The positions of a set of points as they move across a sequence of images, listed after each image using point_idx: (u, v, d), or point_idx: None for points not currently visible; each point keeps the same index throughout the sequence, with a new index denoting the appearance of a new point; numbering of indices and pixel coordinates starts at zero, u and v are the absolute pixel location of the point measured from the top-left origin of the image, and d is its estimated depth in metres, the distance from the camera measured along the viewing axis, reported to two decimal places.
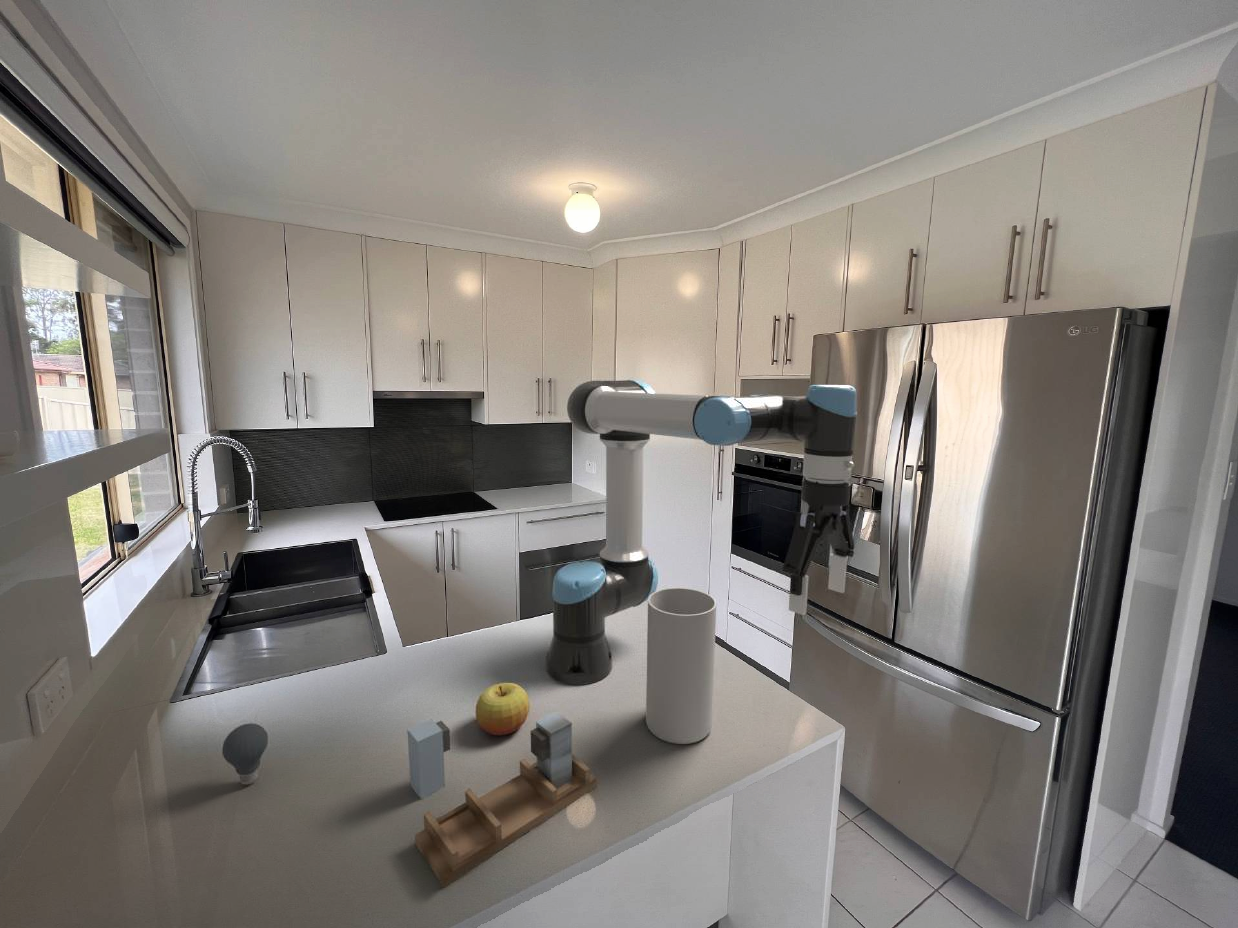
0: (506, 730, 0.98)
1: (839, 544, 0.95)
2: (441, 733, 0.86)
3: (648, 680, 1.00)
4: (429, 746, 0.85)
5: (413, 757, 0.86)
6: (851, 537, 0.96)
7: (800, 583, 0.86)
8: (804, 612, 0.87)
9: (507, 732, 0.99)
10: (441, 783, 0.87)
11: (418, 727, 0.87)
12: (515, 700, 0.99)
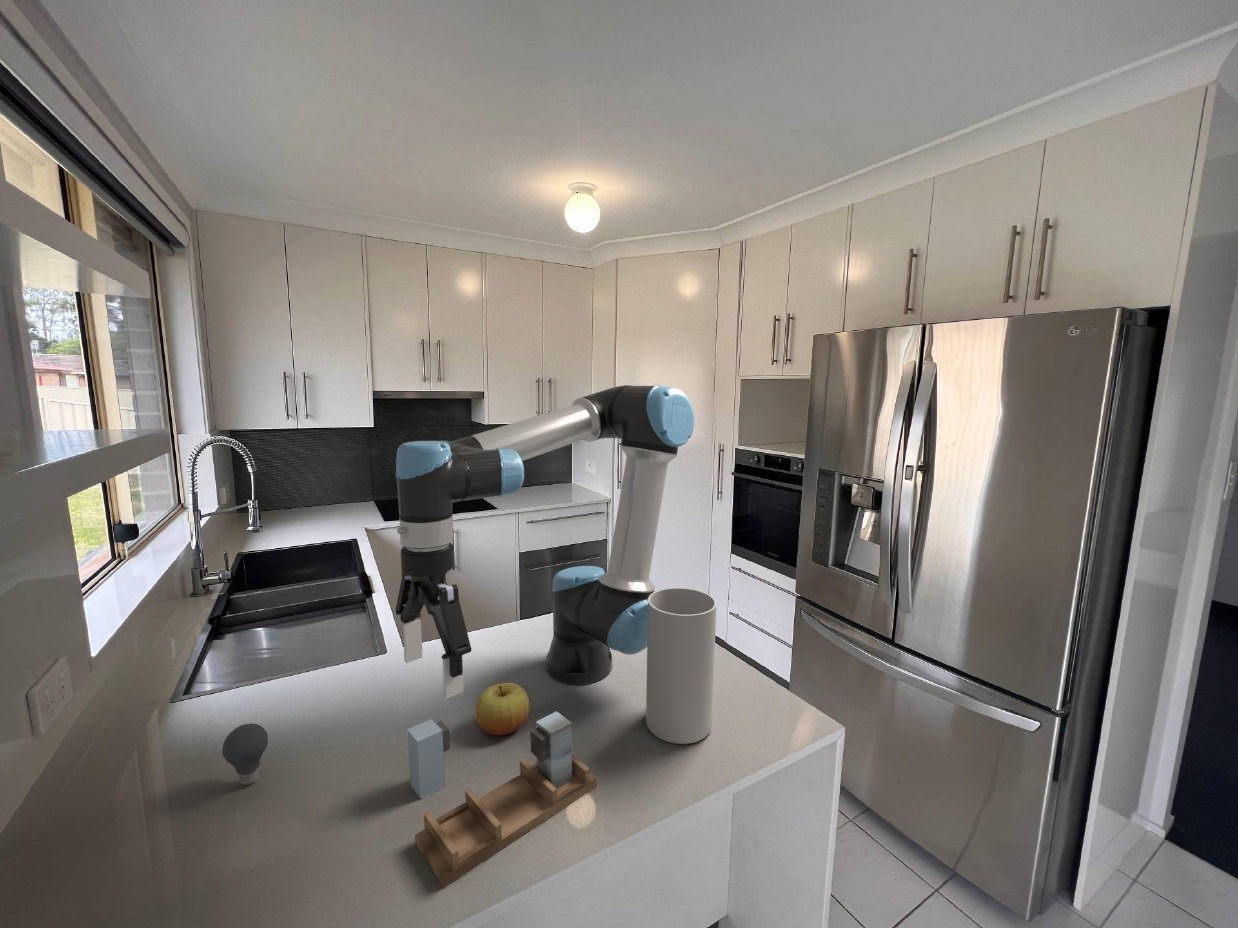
0: (506, 730, 0.98)
1: None
2: (441, 733, 0.86)
3: (648, 680, 1.00)
4: (429, 746, 0.85)
5: (413, 757, 0.86)
6: (450, 638, 0.76)
7: None
8: (405, 659, 0.89)
9: (507, 732, 0.99)
10: (441, 783, 0.87)
11: (418, 727, 0.87)
12: (515, 700, 0.99)
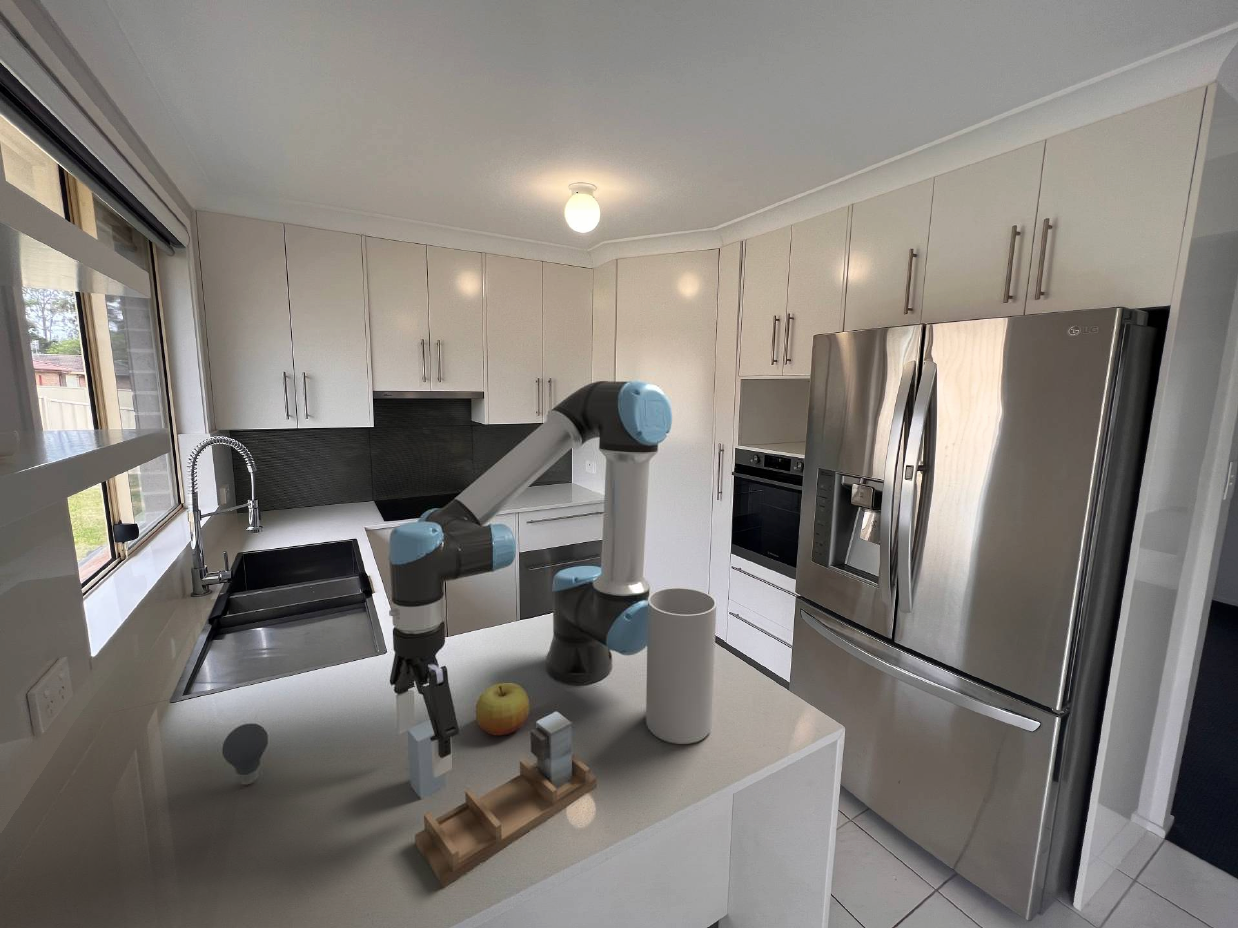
0: (506, 730, 0.98)
1: None
2: None
3: (648, 680, 1.00)
4: (429, 746, 0.85)
5: (413, 756, 0.86)
6: (438, 721, 0.78)
7: None
8: (398, 729, 0.90)
9: (507, 732, 0.99)
10: (441, 783, 0.87)
11: (418, 727, 0.87)
12: (515, 700, 0.99)
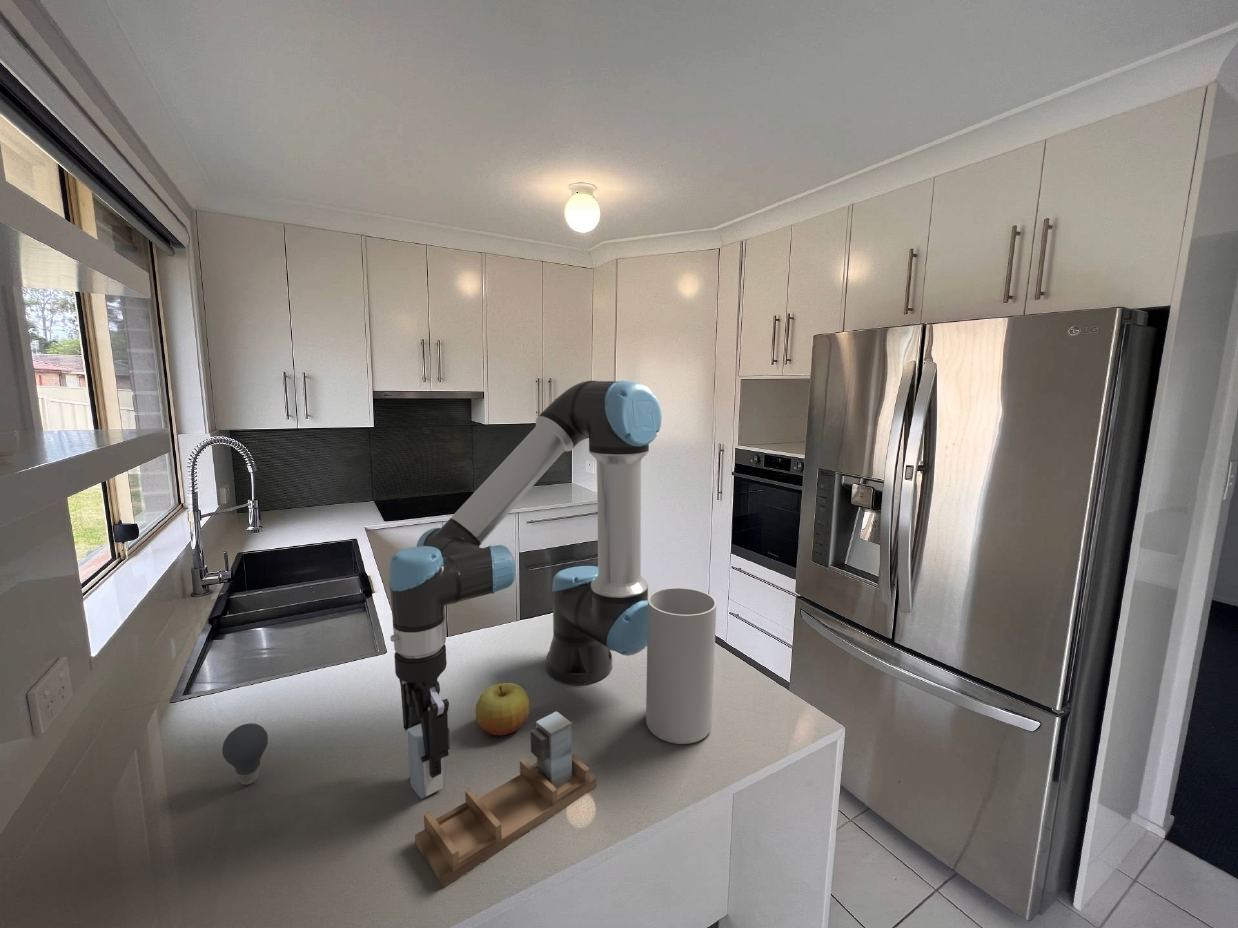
0: (506, 730, 0.98)
1: None
2: None
3: (648, 680, 1.00)
4: None
5: (413, 757, 0.86)
6: (431, 746, 0.81)
7: None
8: None
9: (507, 732, 0.99)
10: None
11: (418, 727, 0.87)
12: (515, 700, 0.99)
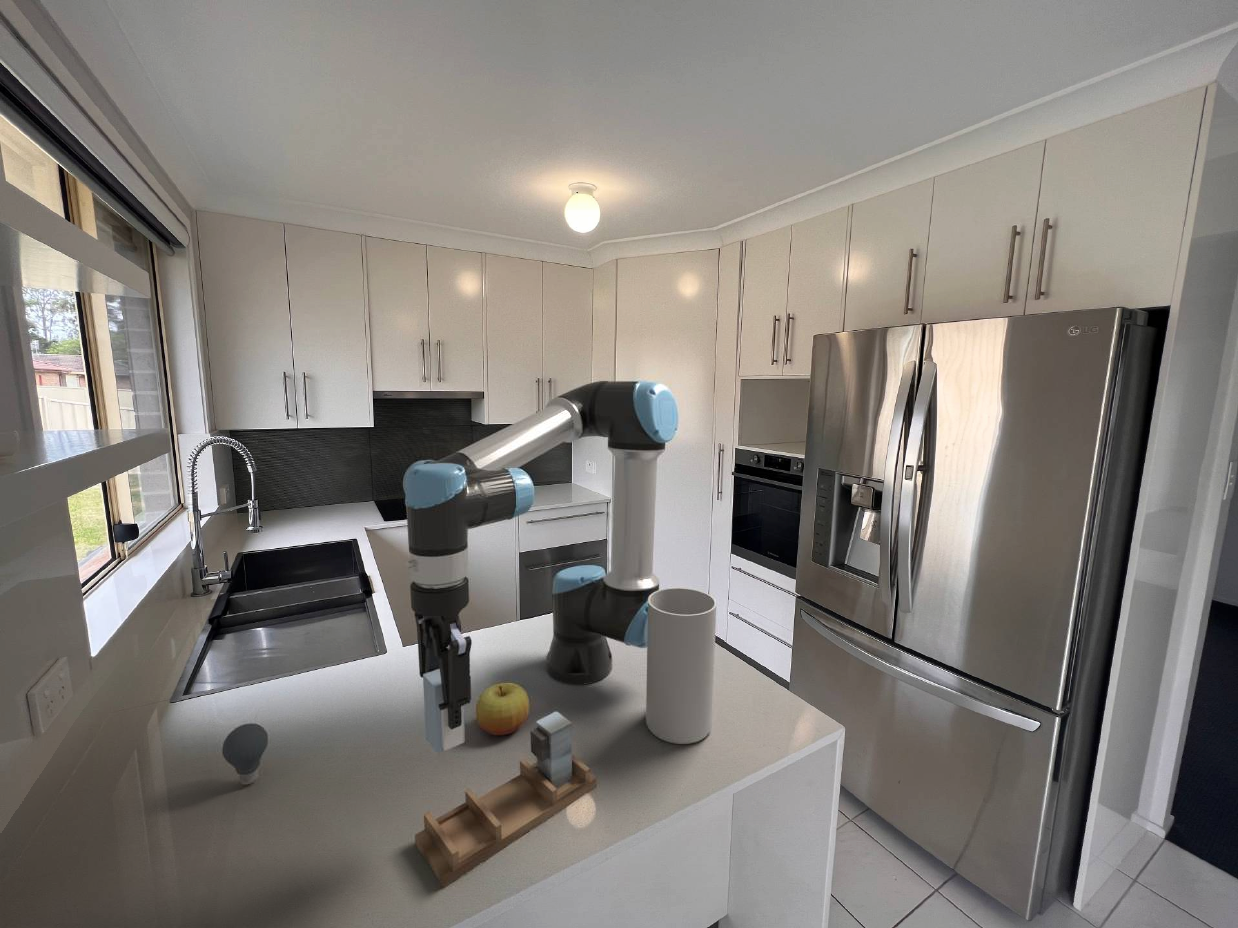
0: (506, 730, 0.98)
1: None
2: None
3: (648, 680, 1.00)
4: None
5: (429, 705, 0.75)
6: (451, 690, 0.71)
7: None
8: None
9: (507, 732, 0.99)
10: None
11: (435, 673, 0.76)
12: (515, 700, 0.99)
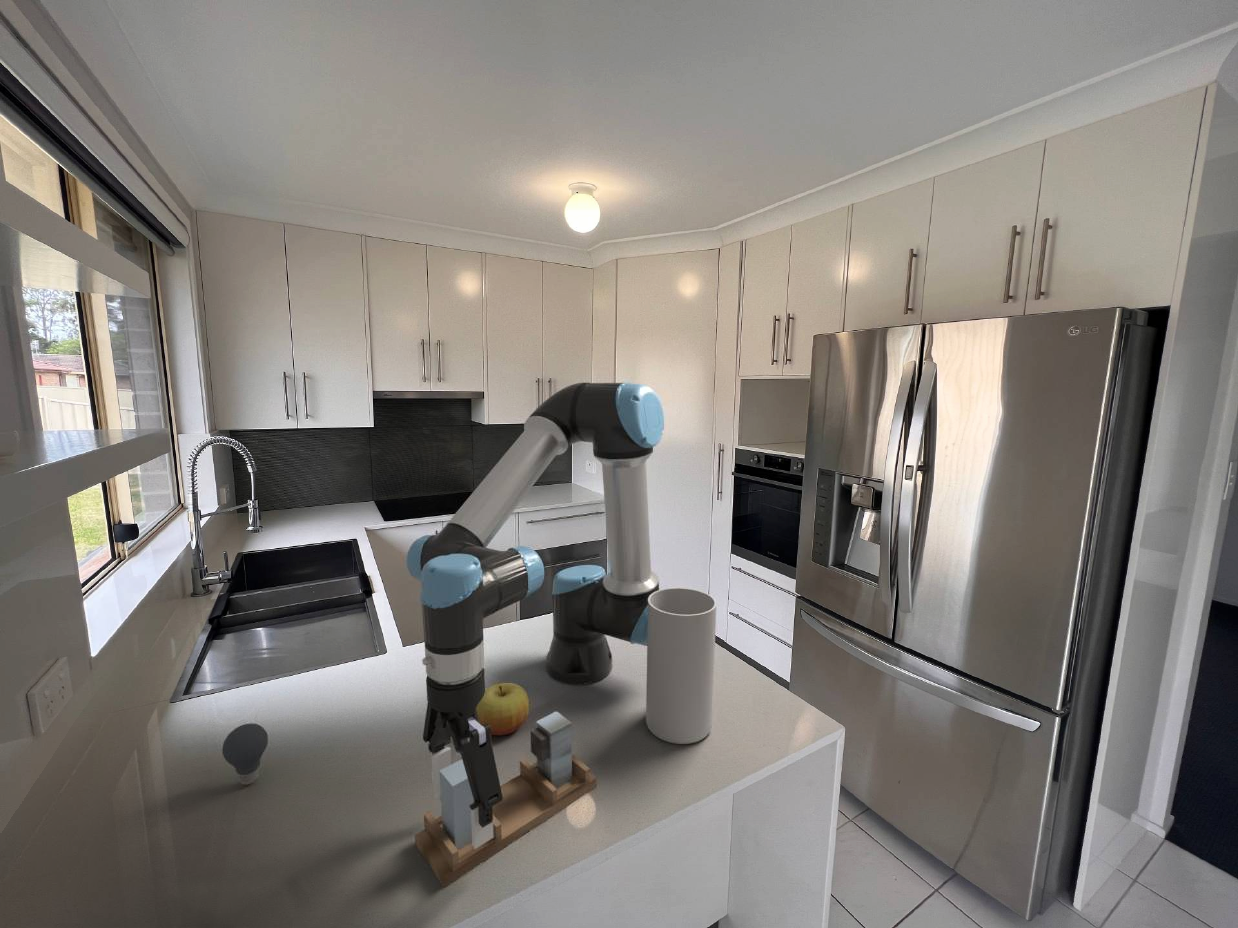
0: (506, 730, 0.98)
1: None
2: None
3: (648, 680, 1.00)
4: (465, 790, 0.74)
5: (446, 802, 0.74)
6: (480, 788, 0.68)
7: None
8: (433, 792, 0.80)
9: (507, 732, 0.99)
10: None
11: (451, 768, 0.76)
12: (515, 700, 0.99)
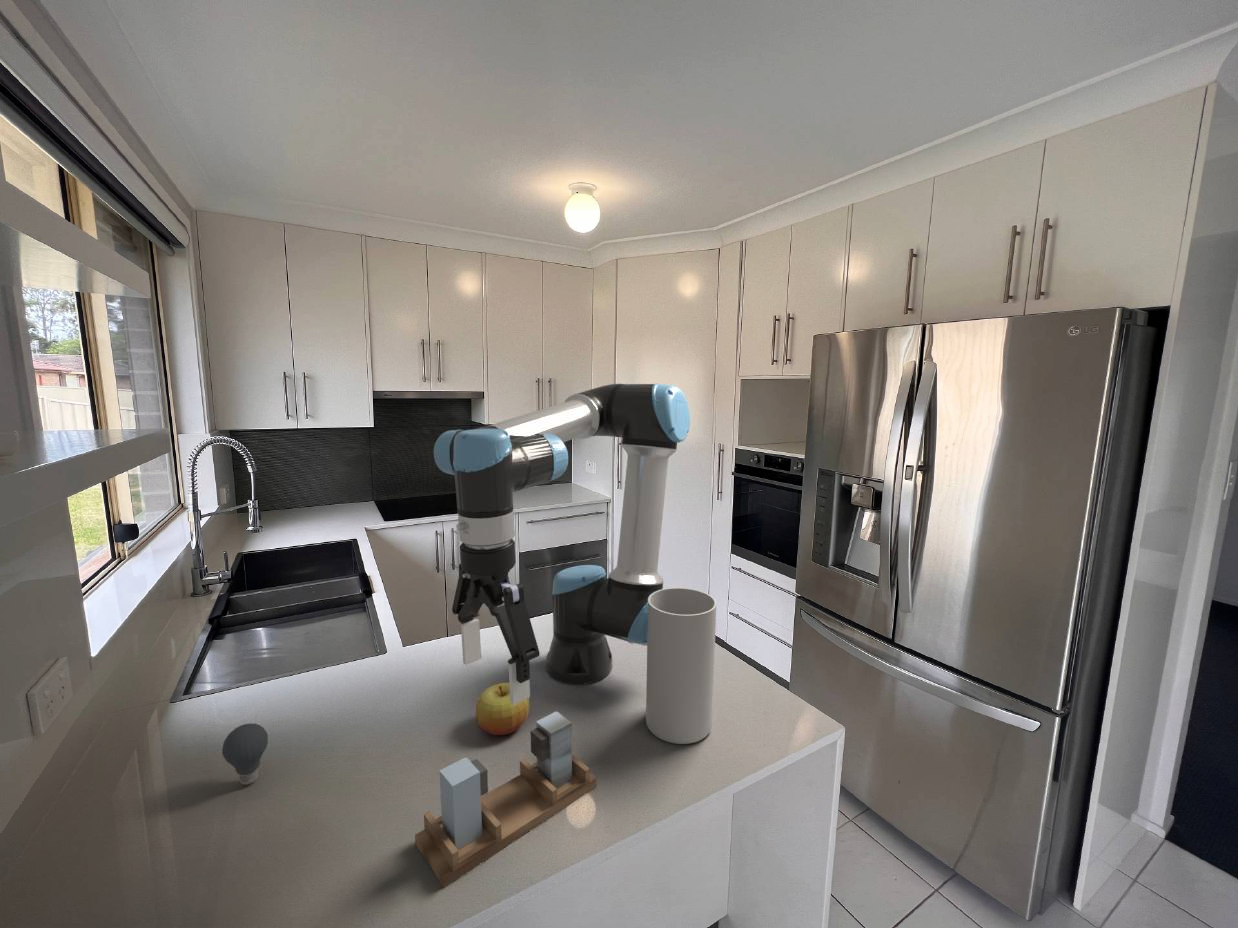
0: (506, 730, 0.98)
1: None
2: (478, 775, 0.75)
3: (648, 680, 1.00)
4: (465, 790, 0.74)
5: (446, 802, 0.74)
6: (517, 642, 0.71)
7: None
8: (463, 661, 0.84)
9: (507, 732, 0.99)
10: (478, 832, 0.76)
11: (451, 768, 0.76)
12: None
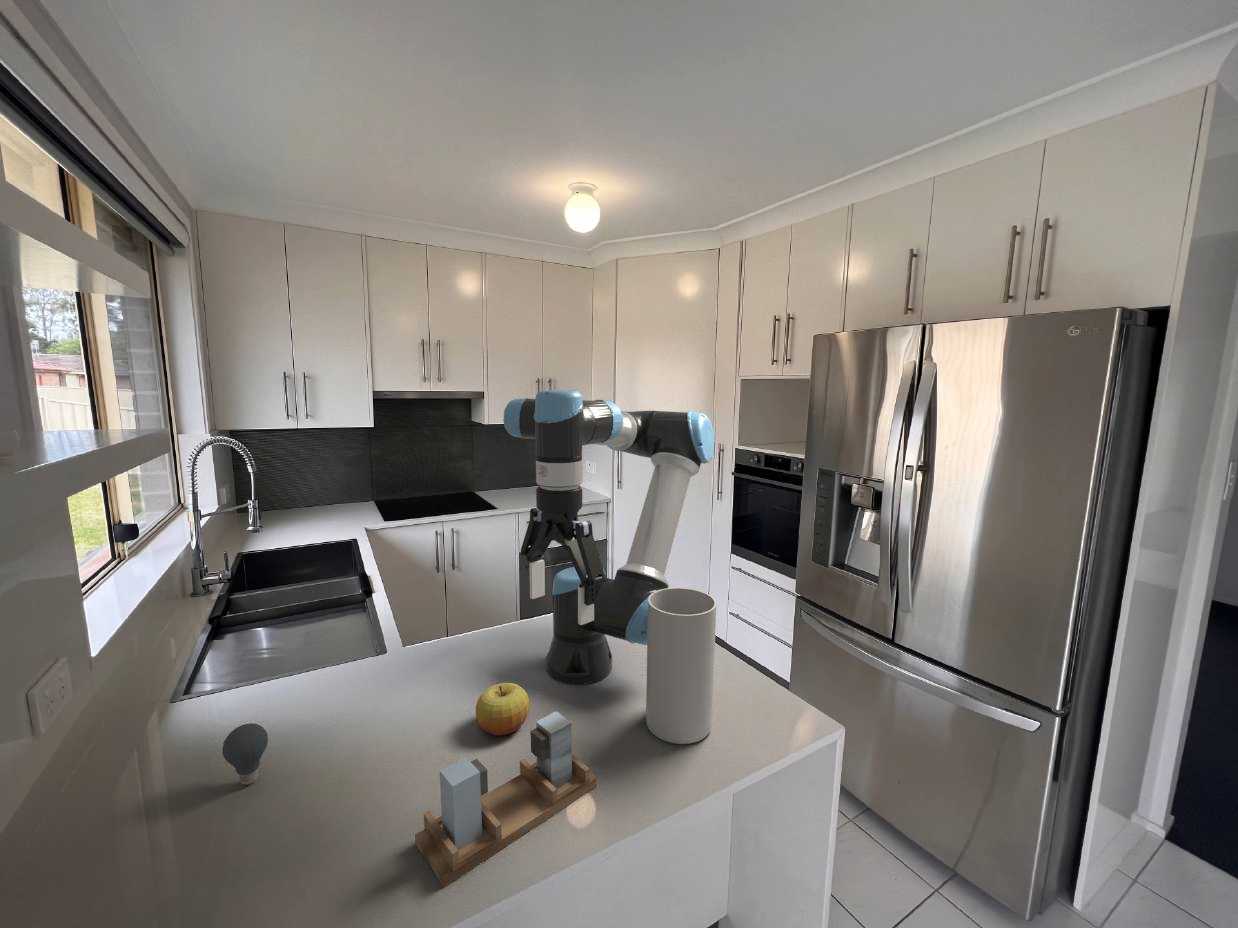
0: (506, 730, 0.98)
1: None
2: (478, 775, 0.75)
3: (648, 680, 1.00)
4: (465, 790, 0.74)
5: (446, 802, 0.74)
6: (587, 568, 0.83)
7: None
8: (530, 596, 0.96)
9: (507, 732, 0.99)
10: (478, 832, 0.76)
11: (451, 768, 0.76)
12: (515, 700, 0.99)
